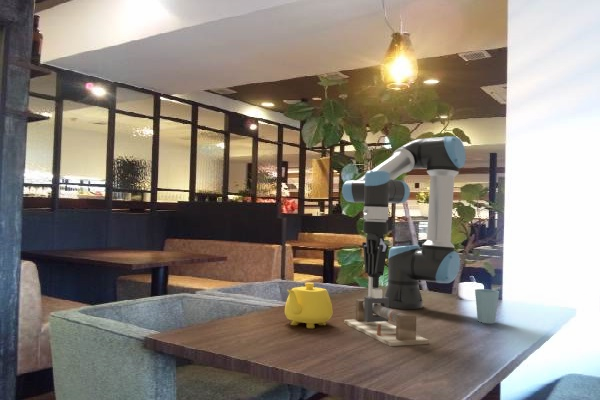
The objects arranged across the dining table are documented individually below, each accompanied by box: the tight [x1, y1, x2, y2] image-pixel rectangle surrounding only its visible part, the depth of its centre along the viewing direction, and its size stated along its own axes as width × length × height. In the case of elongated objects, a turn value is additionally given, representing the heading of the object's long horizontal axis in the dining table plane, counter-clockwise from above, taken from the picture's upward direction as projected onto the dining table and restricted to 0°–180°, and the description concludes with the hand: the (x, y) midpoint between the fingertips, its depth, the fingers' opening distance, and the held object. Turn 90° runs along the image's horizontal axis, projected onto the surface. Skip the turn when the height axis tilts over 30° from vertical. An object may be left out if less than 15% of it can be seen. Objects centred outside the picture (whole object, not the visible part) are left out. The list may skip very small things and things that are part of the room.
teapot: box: [284, 282, 334, 329], centre depth 161 cm, size 14×20×13 cm
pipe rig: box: [343, 298, 430, 347], centre depth 154 cm, size 29×12×8 cm, turn 20°
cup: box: [474, 288, 500, 324], centre depth 175 cm, size 8×8×10 cm
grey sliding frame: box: [364, 288, 390, 322], centre depth 158 cm, size 2×7×10 cm, turn 110°
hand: (373, 298), depth 160 cm, fingers closed
